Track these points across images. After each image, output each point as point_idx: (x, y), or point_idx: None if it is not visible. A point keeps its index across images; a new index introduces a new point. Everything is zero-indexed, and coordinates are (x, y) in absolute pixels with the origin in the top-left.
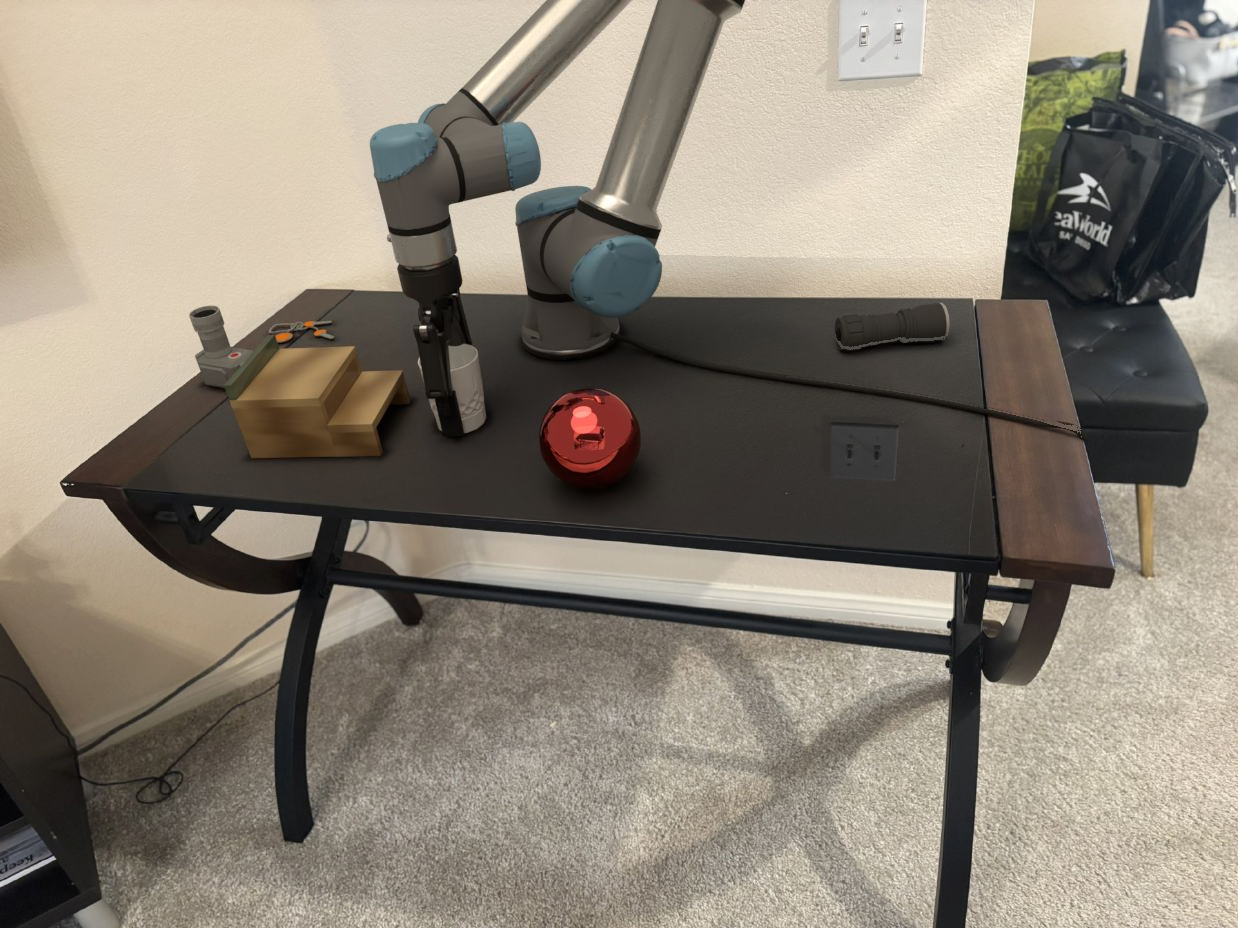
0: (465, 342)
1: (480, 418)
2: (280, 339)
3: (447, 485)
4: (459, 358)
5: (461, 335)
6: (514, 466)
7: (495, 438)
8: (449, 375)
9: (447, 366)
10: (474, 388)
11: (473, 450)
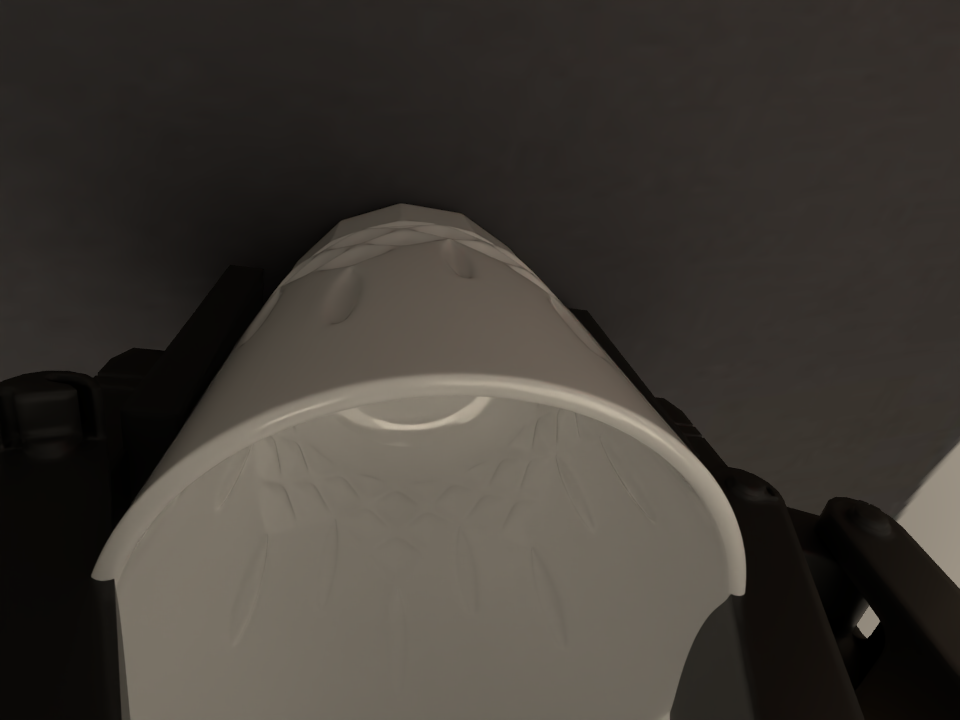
0: (3, 551)
1: (485, 234)
2: None
3: (888, 332)
4: (180, 507)
5: (41, 700)
6: (908, 25)
7: (614, 140)
8: (770, 574)
9: (831, 662)
10: (565, 310)
11: (683, 249)
